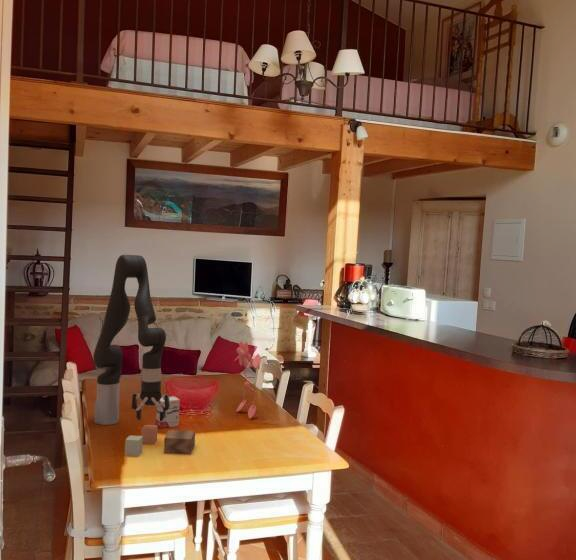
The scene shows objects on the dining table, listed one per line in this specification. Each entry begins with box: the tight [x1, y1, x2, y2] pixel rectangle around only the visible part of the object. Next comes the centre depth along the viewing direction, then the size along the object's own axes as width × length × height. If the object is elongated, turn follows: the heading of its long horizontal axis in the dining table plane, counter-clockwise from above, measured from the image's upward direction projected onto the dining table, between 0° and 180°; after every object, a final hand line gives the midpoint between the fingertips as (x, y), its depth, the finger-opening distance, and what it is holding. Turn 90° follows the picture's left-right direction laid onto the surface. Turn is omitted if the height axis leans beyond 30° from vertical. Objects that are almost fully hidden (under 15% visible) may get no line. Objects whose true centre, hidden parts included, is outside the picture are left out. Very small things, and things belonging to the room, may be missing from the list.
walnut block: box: [163, 429, 196, 455], centre depth 234 cm, size 10×10×6 cm
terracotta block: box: [140, 424, 159, 445], centre depth 241 cm, size 5×5×6 cm
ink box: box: [155, 395, 180, 429], centre depth 263 cm, size 8×5×12 cm, turn 123°
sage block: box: [124, 435, 144, 457], centre depth 227 cm, size 5×5×6 cm
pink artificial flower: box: [226, 340, 262, 423], centre depth 281 cm, size 15×26×35 cm, turn 30°
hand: (150, 420), depth 240 cm, fingers open, 8 cm apart
